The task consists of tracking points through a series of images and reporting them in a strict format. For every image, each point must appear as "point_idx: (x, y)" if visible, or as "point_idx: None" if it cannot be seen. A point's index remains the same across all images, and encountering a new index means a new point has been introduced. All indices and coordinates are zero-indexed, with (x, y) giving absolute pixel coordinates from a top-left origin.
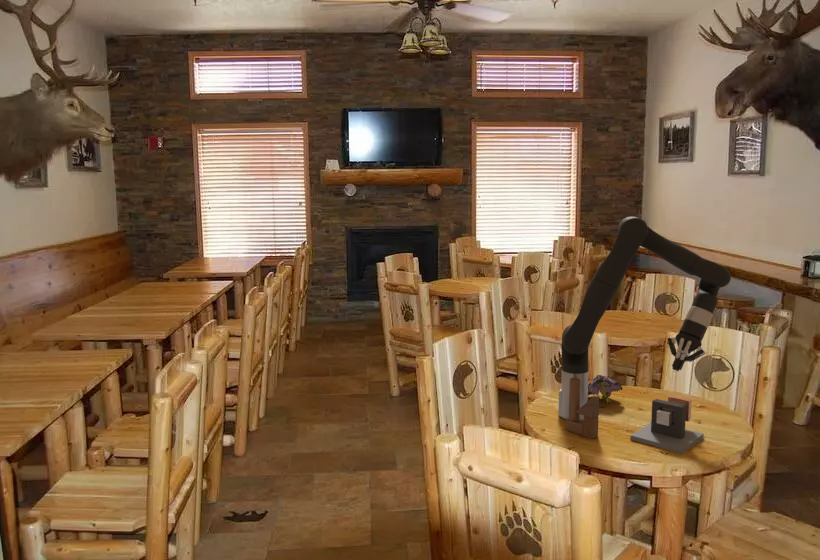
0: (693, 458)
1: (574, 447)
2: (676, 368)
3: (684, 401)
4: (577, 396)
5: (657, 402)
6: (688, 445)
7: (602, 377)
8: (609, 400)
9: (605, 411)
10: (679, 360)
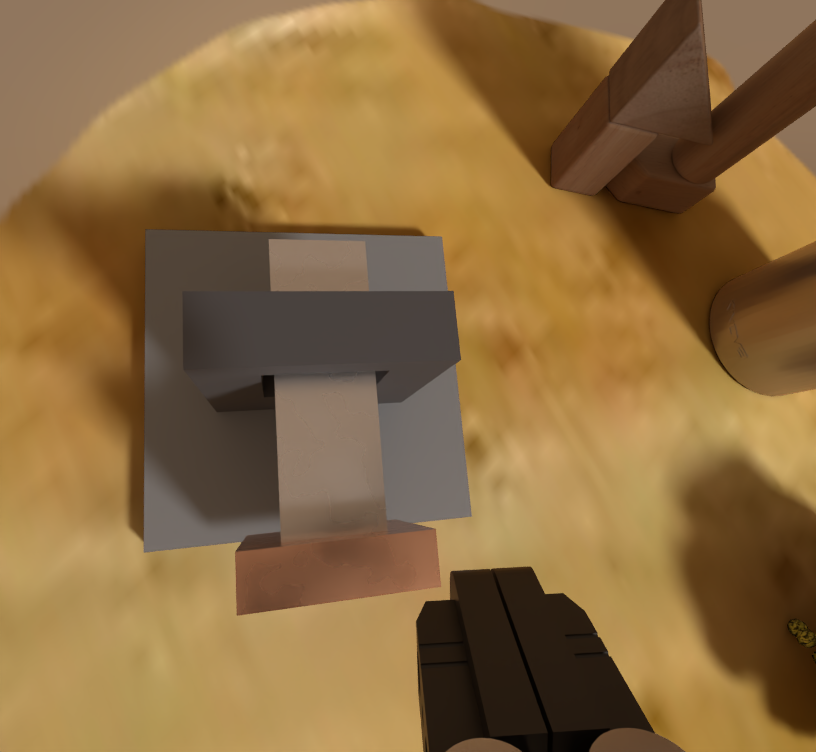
0: (76, 219)
1: (540, 33)
2: (469, 580)
3: (281, 545)
4: (788, 46)
5: (408, 291)
6: (145, 310)
7: None
8: (808, 632)
9: (733, 521)
10: (518, 713)
